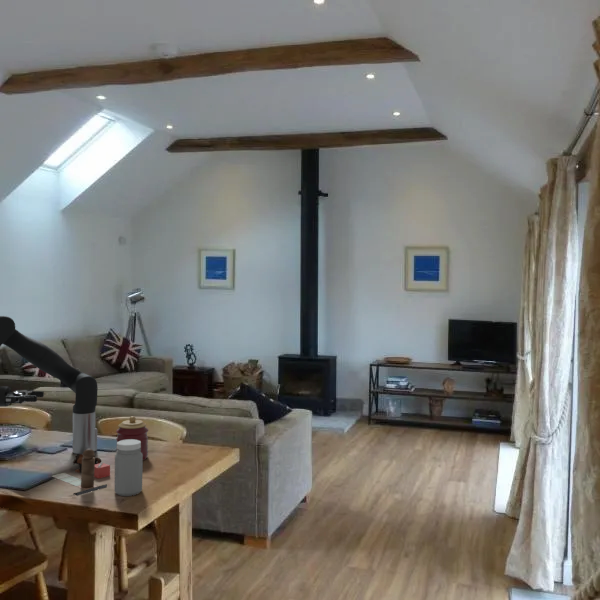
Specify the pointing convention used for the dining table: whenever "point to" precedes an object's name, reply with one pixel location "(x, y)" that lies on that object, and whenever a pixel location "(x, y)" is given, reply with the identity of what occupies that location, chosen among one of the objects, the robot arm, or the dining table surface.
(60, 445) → the dining table surface
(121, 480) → the jar
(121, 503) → the dining table surface
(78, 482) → the game board
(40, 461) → the dining table surface
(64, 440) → the dining table surface
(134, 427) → the canister
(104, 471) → the red die
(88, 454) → the walnut pawn
